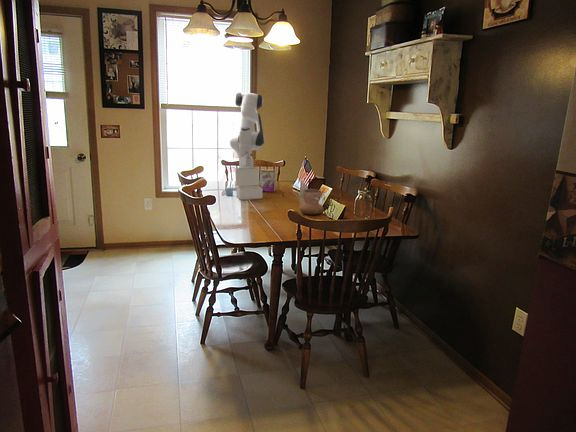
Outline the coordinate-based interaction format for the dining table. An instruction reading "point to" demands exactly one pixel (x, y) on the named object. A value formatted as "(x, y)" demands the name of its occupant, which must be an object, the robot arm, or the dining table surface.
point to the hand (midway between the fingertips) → (245, 170)
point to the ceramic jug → (311, 202)
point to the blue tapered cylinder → (229, 191)
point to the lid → (247, 176)
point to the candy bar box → (267, 180)
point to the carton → (249, 192)
